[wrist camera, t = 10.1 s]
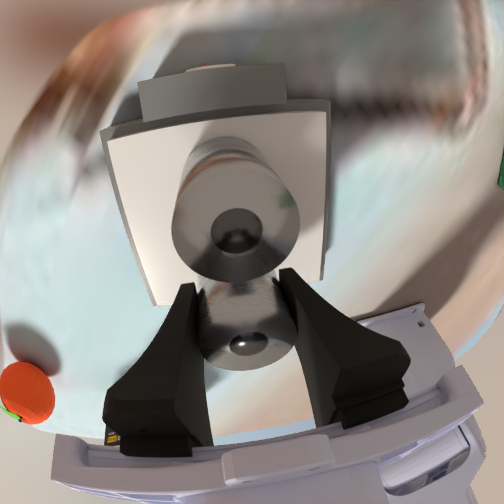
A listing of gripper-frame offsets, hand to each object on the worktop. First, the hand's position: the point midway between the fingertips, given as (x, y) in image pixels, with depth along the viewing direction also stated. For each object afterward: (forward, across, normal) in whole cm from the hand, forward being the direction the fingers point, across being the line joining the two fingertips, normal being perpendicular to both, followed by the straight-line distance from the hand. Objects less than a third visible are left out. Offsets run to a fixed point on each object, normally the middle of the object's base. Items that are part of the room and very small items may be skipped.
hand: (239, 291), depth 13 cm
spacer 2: (+2, 0, 0) cm, 2 cm away
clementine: (+5, +24, +12) cm, 28 cm away
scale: (+5, 0, -4) cm, 6 cm away
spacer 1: (+2, 0, -5) cm, 5 cm away
